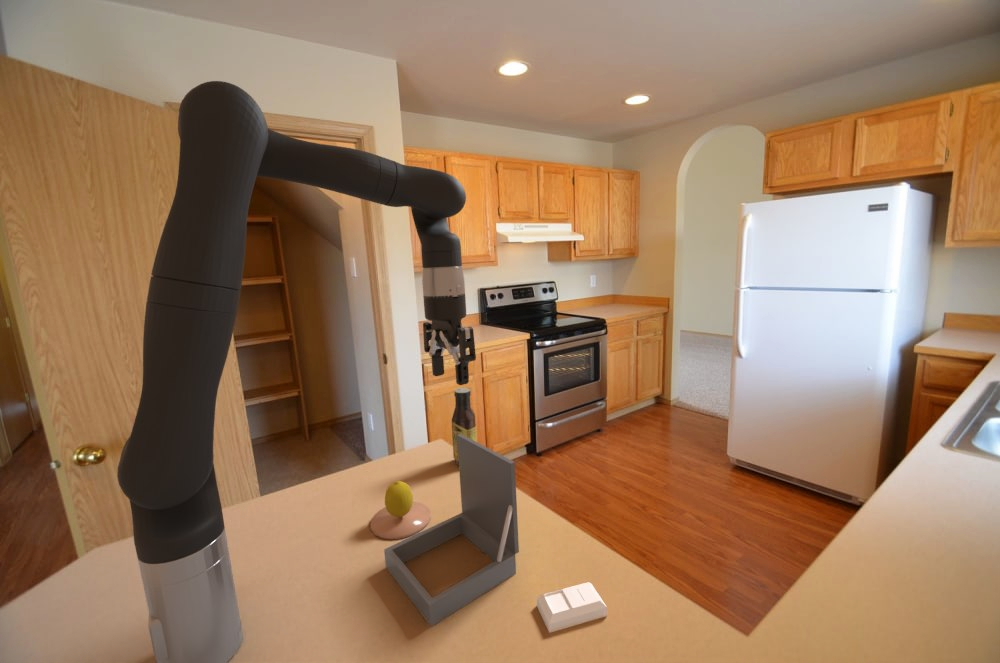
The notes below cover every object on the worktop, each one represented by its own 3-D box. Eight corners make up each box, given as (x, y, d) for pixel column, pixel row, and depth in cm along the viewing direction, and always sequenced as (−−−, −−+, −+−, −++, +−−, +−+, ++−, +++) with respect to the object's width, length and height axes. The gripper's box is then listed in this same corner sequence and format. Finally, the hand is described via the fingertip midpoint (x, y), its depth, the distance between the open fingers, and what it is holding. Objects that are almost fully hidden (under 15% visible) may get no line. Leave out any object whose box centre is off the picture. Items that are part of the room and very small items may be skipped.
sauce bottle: (450, 460, 112) (445, 388, 109) (472, 455, 115) (468, 384, 111) (459, 470, 106) (453, 395, 103) (481, 464, 109) (477, 390, 106)
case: (431, 627, 61) (420, 502, 58) (385, 567, 73) (375, 462, 70) (519, 570, 71) (514, 462, 68) (466, 527, 83) (460, 433, 80)
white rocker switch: (607, 618, 61) (607, 602, 61) (549, 635, 59) (548, 618, 58) (591, 593, 66) (590, 578, 65) (536, 608, 64) (536, 592, 63)
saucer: (385, 548, 78) (384, 545, 78) (361, 519, 88) (361, 516, 88) (441, 521, 85) (441, 518, 85) (414, 497, 95) (414, 495, 95)
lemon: (381, 523, 85) (377, 486, 84) (395, 508, 90) (392, 473, 89) (405, 527, 83) (402, 489, 82) (419, 511, 88) (416, 476, 87)
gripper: (407, 293, 79) (414, 376, 82) (446, 295, 68) (453, 392, 71) (442, 290, 84) (447, 369, 87) (484, 291, 73) (489, 382, 75)
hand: (450, 379), depth 79 cm, fingers open, 8 cm apart
